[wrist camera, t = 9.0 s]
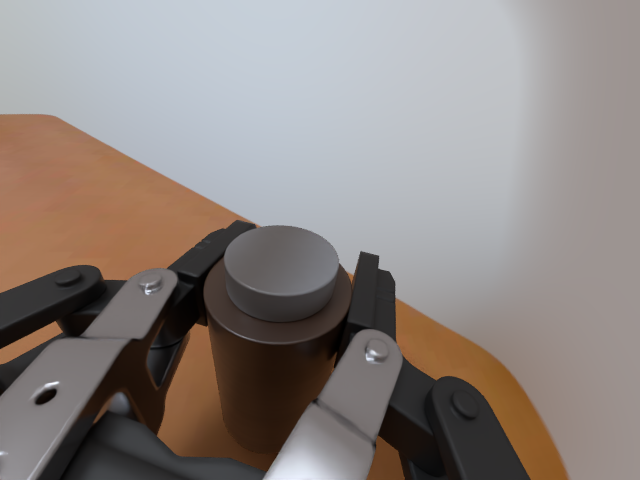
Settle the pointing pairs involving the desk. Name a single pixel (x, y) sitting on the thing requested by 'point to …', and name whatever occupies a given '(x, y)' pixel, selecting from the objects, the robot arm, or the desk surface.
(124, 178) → the desk surface
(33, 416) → the robot arm
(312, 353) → the pepper grinder
